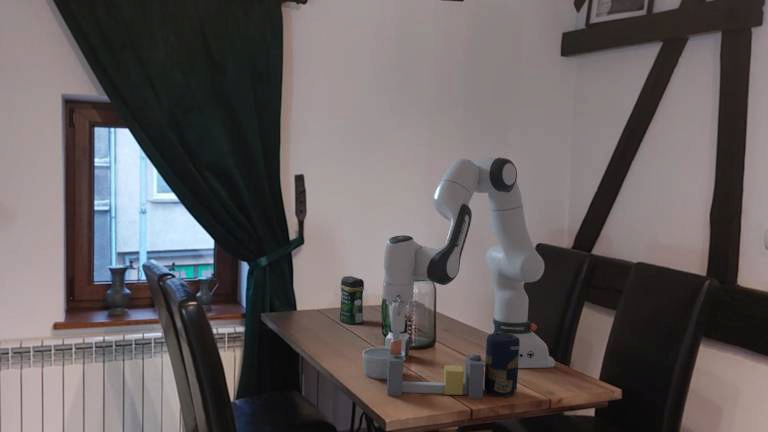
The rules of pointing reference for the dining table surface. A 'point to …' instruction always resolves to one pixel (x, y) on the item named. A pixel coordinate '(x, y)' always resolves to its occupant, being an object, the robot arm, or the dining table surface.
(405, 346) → the medicine bottle
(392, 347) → the gauge button
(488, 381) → the canister
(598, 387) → the dining table surface
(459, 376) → the block
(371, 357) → the ramekin
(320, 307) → the dining table surface
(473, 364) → the rail assembly
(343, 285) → the coffee jar
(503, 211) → the robot arm
